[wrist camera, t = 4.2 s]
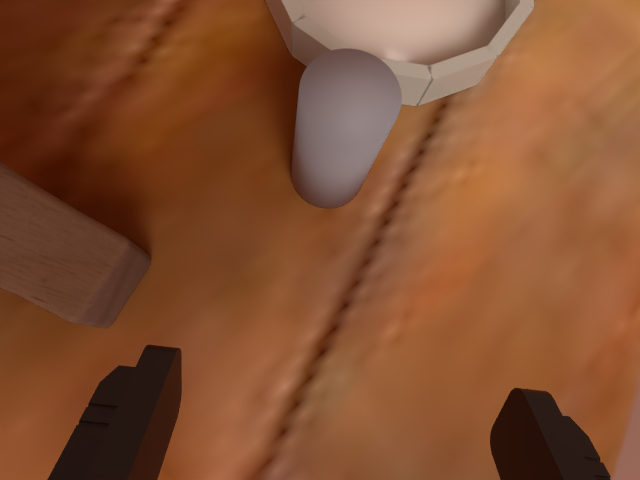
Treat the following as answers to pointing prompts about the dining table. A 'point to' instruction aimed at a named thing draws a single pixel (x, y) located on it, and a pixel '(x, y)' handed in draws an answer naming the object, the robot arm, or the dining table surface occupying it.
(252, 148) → the dining table surface
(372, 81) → the grey peg
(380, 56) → the round tray
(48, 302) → the wooden block
